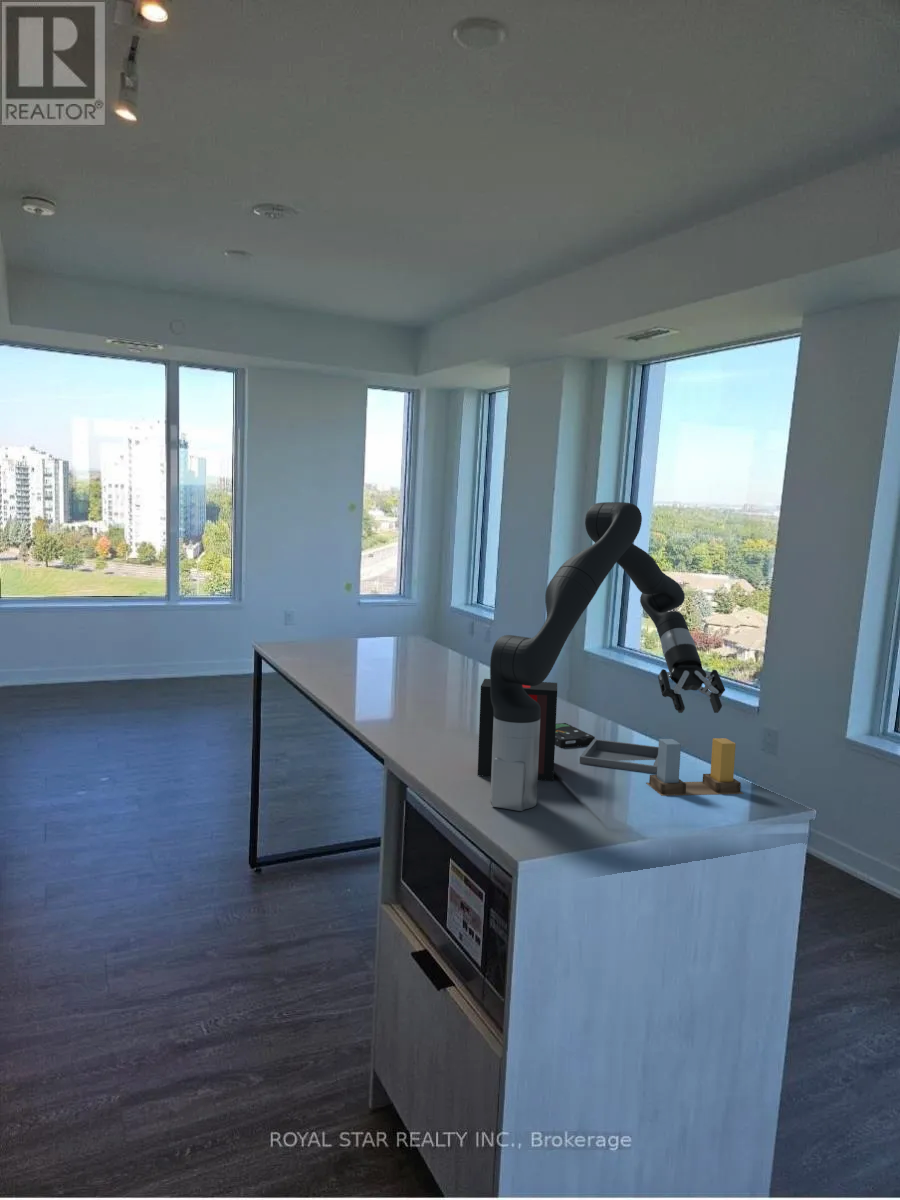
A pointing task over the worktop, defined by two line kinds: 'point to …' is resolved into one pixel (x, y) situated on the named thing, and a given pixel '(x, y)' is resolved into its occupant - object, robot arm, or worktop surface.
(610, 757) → the tray
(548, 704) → the cleaning product box
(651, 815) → the worktop surface
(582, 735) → the disk drive
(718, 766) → the yellow rectangular block
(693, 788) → the block
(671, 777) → the block
